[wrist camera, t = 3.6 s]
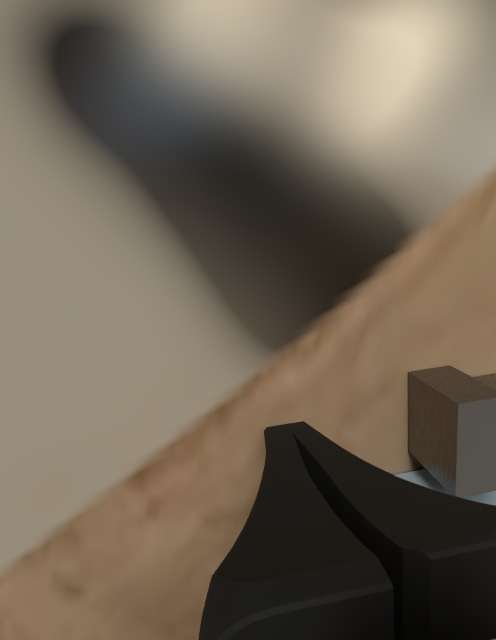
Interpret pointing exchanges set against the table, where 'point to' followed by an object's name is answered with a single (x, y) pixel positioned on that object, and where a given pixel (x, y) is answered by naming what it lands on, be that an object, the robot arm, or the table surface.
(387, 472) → the robot arm
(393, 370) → the table surface
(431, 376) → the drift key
